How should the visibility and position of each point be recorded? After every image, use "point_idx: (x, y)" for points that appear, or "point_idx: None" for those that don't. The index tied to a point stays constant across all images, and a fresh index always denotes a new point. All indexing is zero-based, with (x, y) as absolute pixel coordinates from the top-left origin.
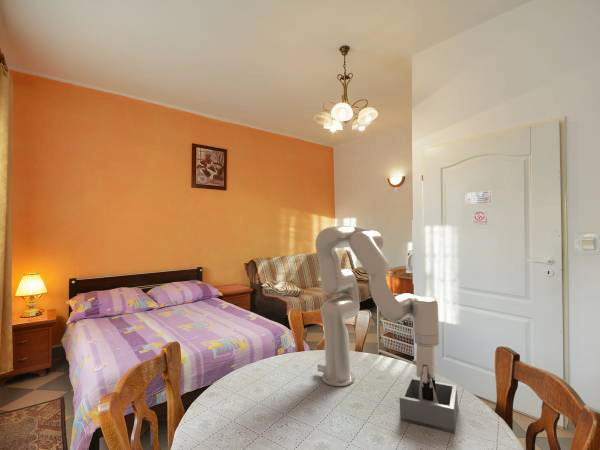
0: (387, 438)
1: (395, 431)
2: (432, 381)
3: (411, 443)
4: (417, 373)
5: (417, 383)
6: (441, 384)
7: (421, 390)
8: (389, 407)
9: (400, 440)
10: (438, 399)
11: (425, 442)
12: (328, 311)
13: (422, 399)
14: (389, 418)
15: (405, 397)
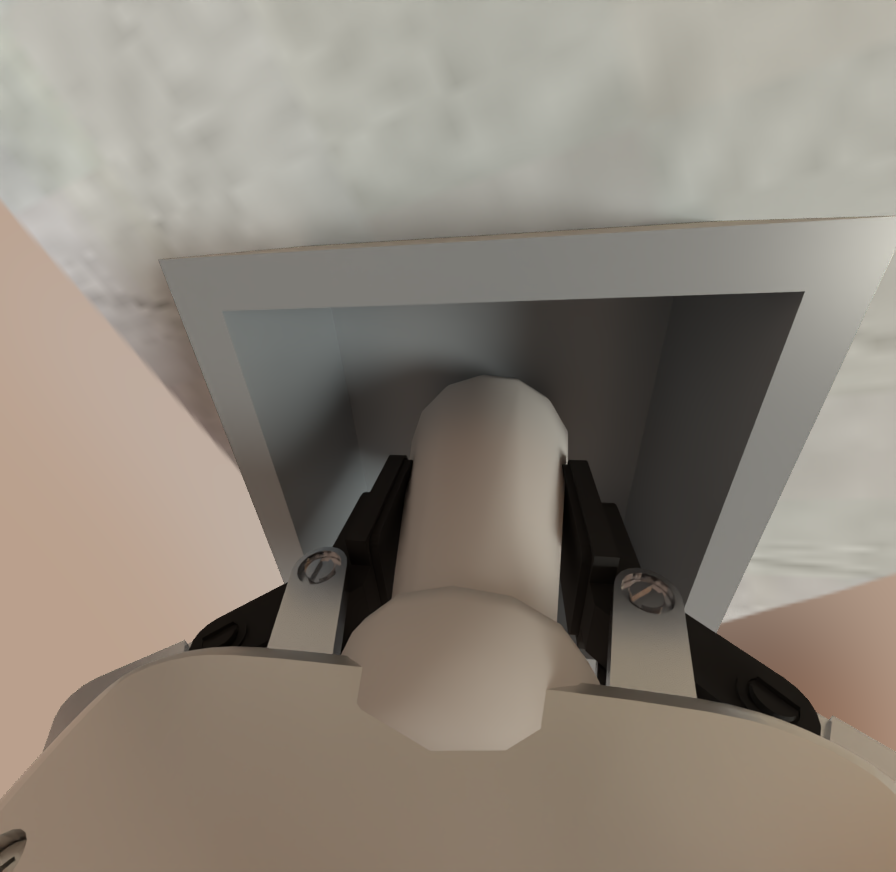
0: (74, 218)
1: (172, 247)
2: (568, 615)
3: (154, 365)
4: (41, 756)
5: (742, 361)
6: (685, 604)
7: (421, 477)
8: (440, 64)
9: (126, 303)
10: (642, 479)
11: (214, 425)
12: None
13: (418, 440)
14: (275, 142)
15: (217, 327)
